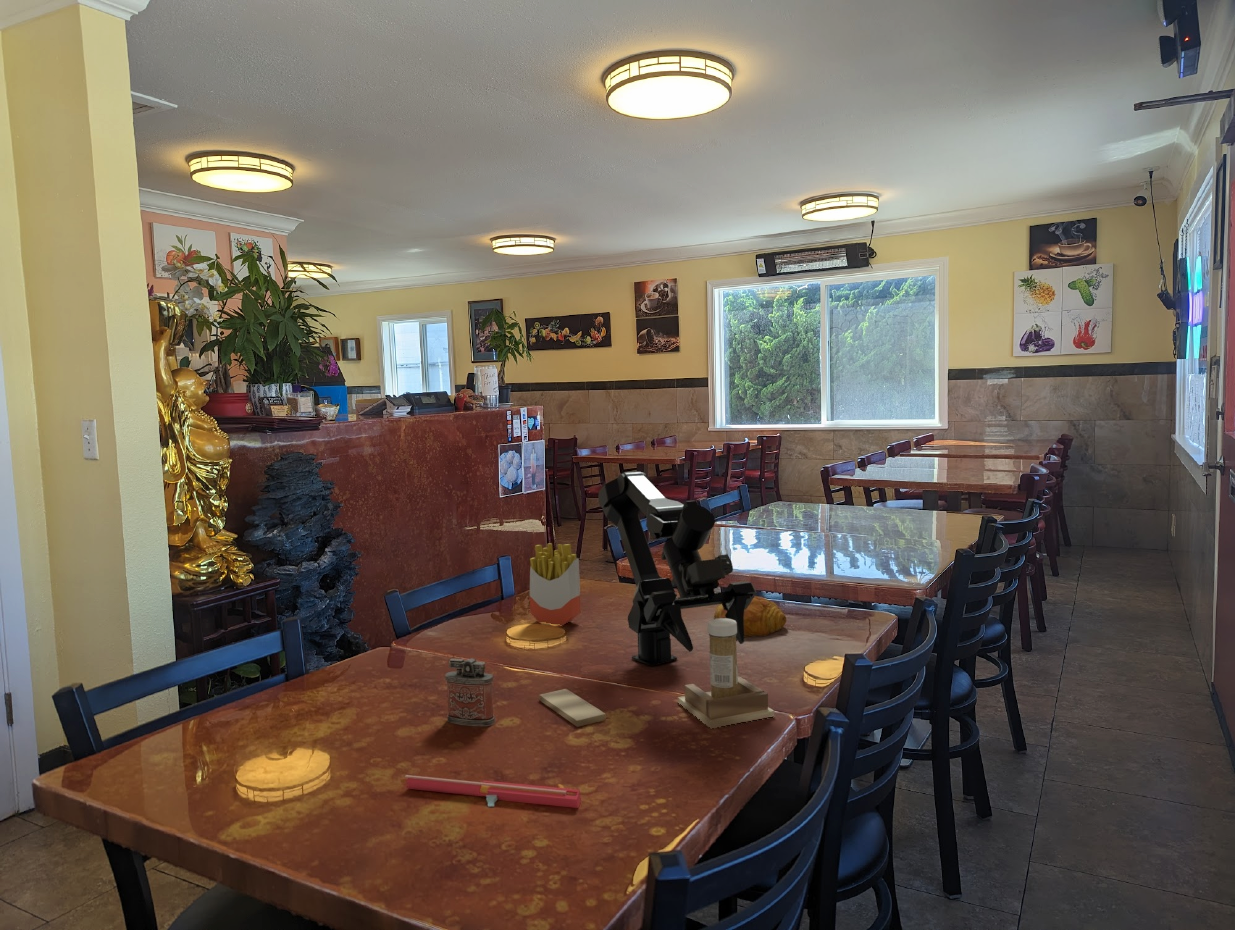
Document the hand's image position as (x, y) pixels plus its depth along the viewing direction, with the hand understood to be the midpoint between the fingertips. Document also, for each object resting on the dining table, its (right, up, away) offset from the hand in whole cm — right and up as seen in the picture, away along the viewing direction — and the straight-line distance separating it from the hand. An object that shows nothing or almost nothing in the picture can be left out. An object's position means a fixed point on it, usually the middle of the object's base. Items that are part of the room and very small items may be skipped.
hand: (717, 646), depth 135 cm
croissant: (+12, -6, +45) cm, 47 cm away
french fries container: (-30, -7, +55) cm, 63 cm away
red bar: (-32, -14, -28) cm, 45 cm away
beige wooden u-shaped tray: (+1, -10, -1) cm, 10 cm away
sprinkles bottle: (+1, -9, -1) cm, 9 cm away
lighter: (-39, -12, -2) cm, 41 cm away
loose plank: (-24, -11, +1) cm, 26 cm away
